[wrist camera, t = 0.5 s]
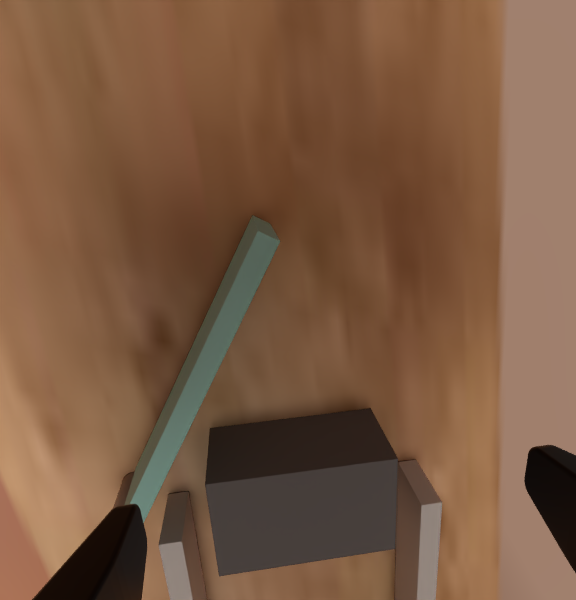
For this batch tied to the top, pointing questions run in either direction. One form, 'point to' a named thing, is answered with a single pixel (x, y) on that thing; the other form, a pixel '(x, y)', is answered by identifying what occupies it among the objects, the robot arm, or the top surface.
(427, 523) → the frame
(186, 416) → the bar
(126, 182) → the top surface
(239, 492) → the block
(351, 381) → the top surface
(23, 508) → the top surface
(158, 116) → the top surface
